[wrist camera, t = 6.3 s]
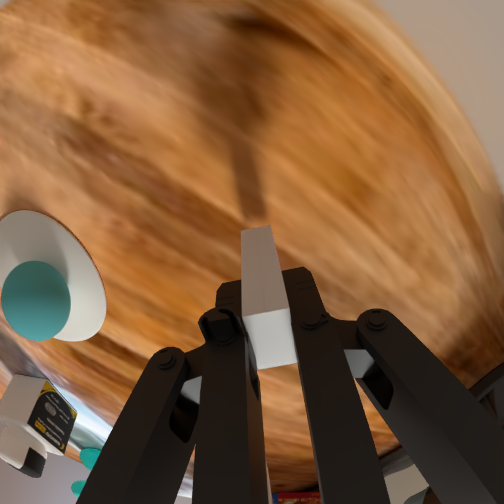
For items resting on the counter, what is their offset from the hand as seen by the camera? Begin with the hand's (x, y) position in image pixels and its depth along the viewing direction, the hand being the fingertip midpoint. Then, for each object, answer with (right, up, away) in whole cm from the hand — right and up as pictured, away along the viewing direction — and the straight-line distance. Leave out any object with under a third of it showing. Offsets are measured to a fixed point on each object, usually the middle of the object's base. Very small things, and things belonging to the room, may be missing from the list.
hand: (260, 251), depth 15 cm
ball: (-15, -3, 0) cm, 16 cm away
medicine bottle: (-26, -18, +11) cm, 34 cm away
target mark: (-17, -2, +3) cm, 17 cm away
